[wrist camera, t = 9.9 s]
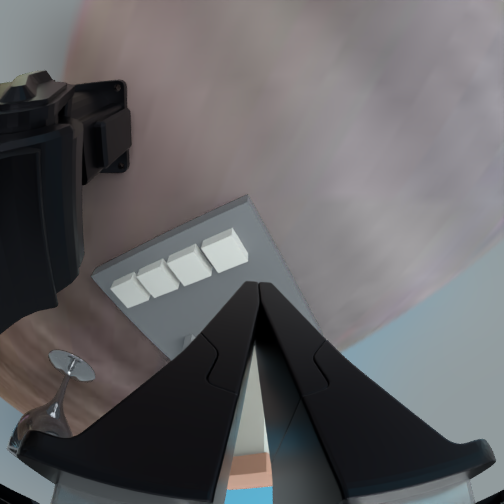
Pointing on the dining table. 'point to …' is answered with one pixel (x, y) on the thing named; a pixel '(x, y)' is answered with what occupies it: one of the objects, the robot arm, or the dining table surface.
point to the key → (251, 440)
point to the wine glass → (53, 401)
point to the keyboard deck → (196, 274)
